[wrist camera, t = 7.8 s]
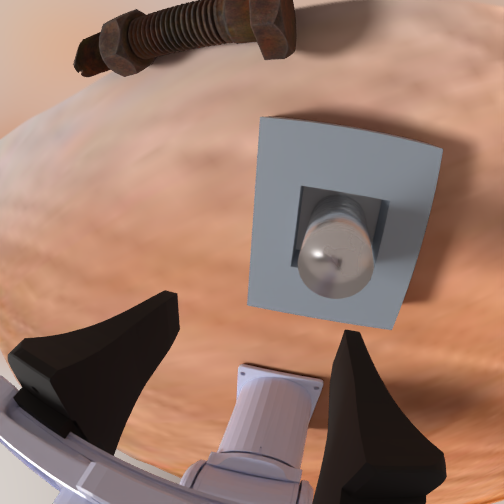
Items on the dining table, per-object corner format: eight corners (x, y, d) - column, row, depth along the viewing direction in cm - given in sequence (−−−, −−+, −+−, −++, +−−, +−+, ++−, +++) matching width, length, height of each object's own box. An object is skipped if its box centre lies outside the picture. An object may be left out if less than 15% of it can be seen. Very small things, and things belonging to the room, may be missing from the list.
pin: (363, 248, 19) (369, 300, 14) (310, 246, 20) (297, 296, 15) (366, 195, 18) (377, 232, 13) (309, 193, 19) (297, 229, 14)
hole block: (386, 304, 21) (391, 330, 19) (257, 282, 23) (247, 305, 21) (427, 143, 16) (443, 148, 13) (270, 116, 18) (260, 116, 15)
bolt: (115, 53, 20) (298, 19, 16) (97, 102, 19) (296, 73, 15) (73, 16, 14) (281, -46, 10) (46, 68, 14) (275, 2, 10)
